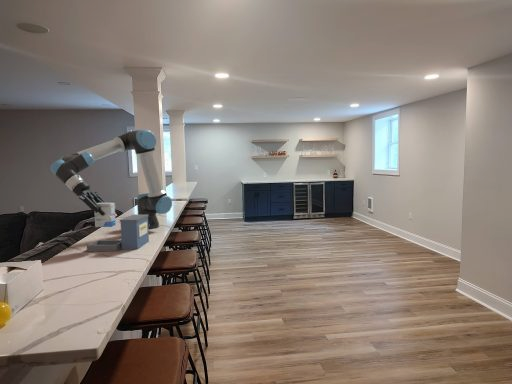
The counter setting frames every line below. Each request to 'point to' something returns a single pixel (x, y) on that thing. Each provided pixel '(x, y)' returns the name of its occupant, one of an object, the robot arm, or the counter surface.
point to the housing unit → (134, 231)
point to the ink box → (100, 220)
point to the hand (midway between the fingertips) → (112, 218)
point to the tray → (105, 245)
